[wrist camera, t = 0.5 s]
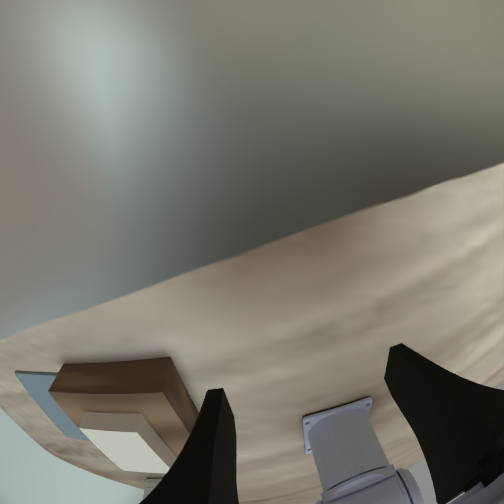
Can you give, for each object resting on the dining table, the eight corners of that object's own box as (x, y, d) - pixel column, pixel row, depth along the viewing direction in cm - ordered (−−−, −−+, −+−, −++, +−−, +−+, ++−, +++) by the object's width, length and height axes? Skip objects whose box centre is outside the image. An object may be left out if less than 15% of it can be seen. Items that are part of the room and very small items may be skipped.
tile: (176, 457, 21) (175, 473, 19) (125, 455, 21) (122, 470, 19) (141, 413, 18) (136, 432, 16) (84, 411, 18) (78, 427, 16)
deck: (212, 437, 25) (213, 466, 22) (120, 438, 25) (114, 463, 21) (170, 357, 21) (163, 392, 17) (63, 364, 21) (47, 391, 17)
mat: (120, 441, 25) (119, 443, 25) (67, 434, 25) (67, 436, 25) (66, 373, 21) (64, 375, 21) (15, 371, 21) (14, 373, 20)
